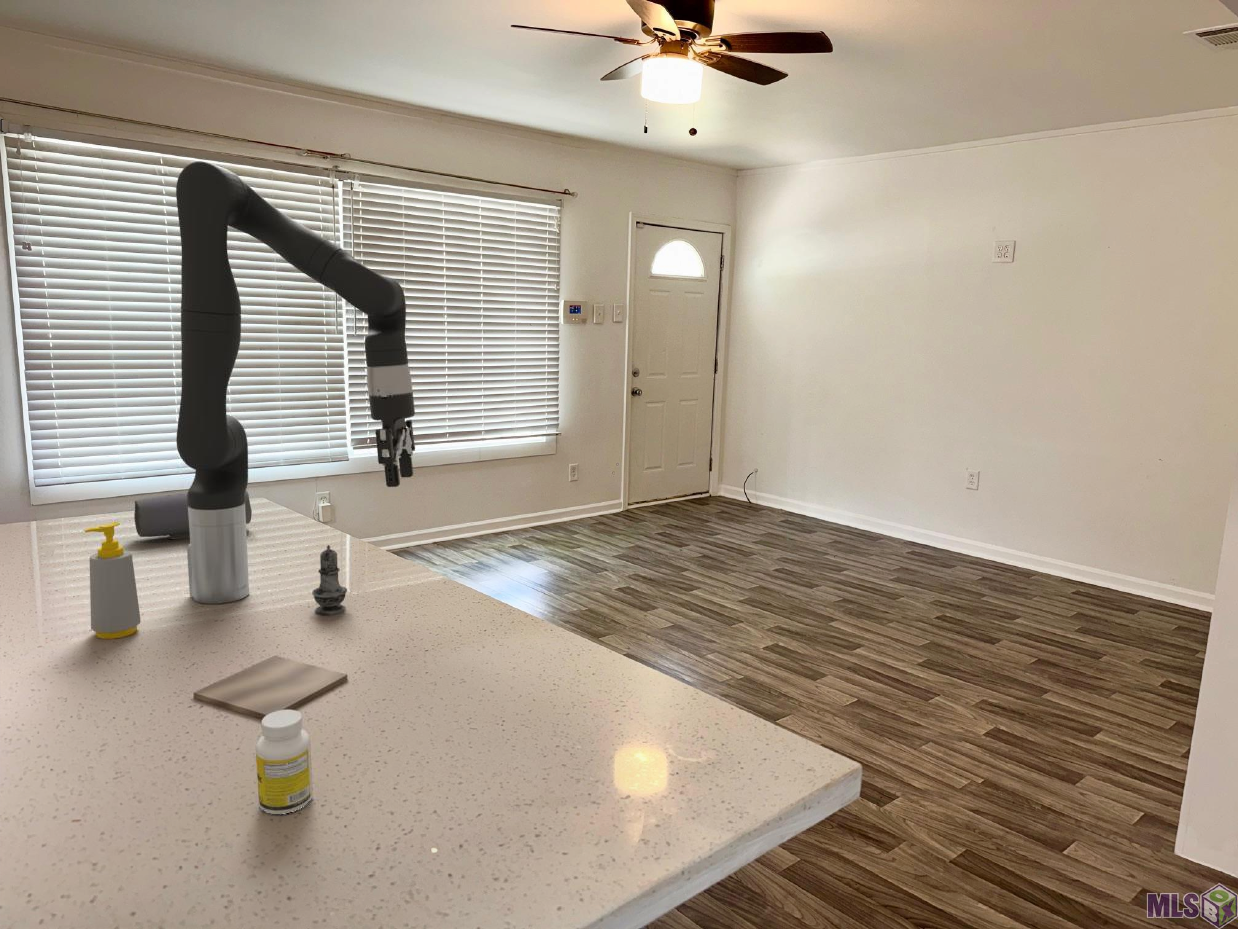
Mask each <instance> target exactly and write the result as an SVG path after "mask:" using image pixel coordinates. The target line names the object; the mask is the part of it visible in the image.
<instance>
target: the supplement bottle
mask: <svg viewBox="0 0 1238 929" xmlns="http://www.w3.org/2000/svg"><path fill="white" fill-rule="evenodd" d="M260 724H261V735H262V736H261V737H260V738H259V740H257V742H256V745H255V759H256V761H255V762H256V778H257V789H258V790H257V792H258V794H257V795H258V805H259V808H260V807H261V808H260V809H261V811H263V810H264V811H265V812H268V813H272V814H283V813H288V812H292V811H295V810H298V809H300V808H301V807H303V806H305V805H306V804H307V803H308V802H309V801H310V802H311V800H312V799H313V794H314V793H313V790H314V789H313V774H312V773H313V772H312V768H313V767H312V752H311V751H312V749H311V737H310V735H309V734H308V732H307V731H306V730H304V729H303V714H302V713H301V712H300V711H298V710H296V709H293V710H280V711H275V712H273V713H270V714H268V715H267V716H265V717H264V718H263V719H261V723H260ZM311 798H312V799H311ZM310 802H309V803H310ZM309 803H308V804H309ZM308 804H307V805H308ZM307 805H306V806H307ZM306 806H305V807H306ZM303 808H304V807H303ZM300 810H301V809H300ZM264 811H263V812H264ZM298 811H299V810H298ZM265 812H264V813H265ZM268 813H267V814H268ZM272 814H271V815H272Z"/></svg>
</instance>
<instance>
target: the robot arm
mask: <svg viewBox="0 0 1238 929" xmlns="http://www.w3.org/2000/svg"><path fill="white" fill-rule="evenodd" d="M175 186H176V187H175V196H176V208H177V216H178V223H179V224H178V226H179V232H180V234H179V235H180V246H181V263H180V264H181V270H180V271H181V275H180V276H181V279H180V280H181V300H180V303H181V304H180V336H181V337H180V338H181V339H180V340H181V342H180V343H181V351H180V352H181V360H180V361H181V365H180V366H181V394H180V404H179V405H180V406H179V412H178V421H177V427H176V447H177V451H178V454H179V456H180V458H181V460H182V461H183V462H184V464H186V465H187V467H189V468H190V469H193V470H194V471H195V473H194V478H193V481H192V483H191V485H190V487H189V488H188V490H187V493H188V494H187V500H188V516H189V531H190V537H189V544H188V545H187V546H186V554H187V555H186V556H187V557H186V558H187V570H188V573H187V574H188V585H189V587H188V588H189V596H190V597H192V598H193V600H194V601H195V602H197V603H201V604H210V605H211V604H225V603H231V602H236V601H239V600H242V599H243V598H246V597H247V596H249V594H250V584H249V583H250V582H249V559H248V558H249V557H248V539H247V538H248V536H247V524H246V515H245V491H247V487H248V482H249V444H248V438H247V433H246V430H245V428H244V426H243V424H242V423H241V422H240V421H239V420H238V419H237V418H235V417H233V416H231V415H229V414H227V392H228V386H229V383H230V379H231V375H232V373H233V370H234V367H235V364H236V360H237V358H238V355H239V350H240V345H241V338H242V305H241V304H242V303H241V298H240V295H239V291H238V290H239V289H238V286H237V284H236V280H235V277H234V274H233V271H232V267H231V264H230V260H229V254H228V230H229V227H230V228H233V229H234V230H237V231H239V232H242V233H244V234H247V235H249V236H250V237H253V238H254V239H257V240H258V241H260V242H261V243H263V244H264V245H266V246H267V247H269V248H270V249H272V250H273V251H274V252H275V253H277V254H278V255H279V256H280V257H281V258H283V259H284V260H285V261H286V262H287V263H289V265H291V266H293V268H295V269H297V270H299V272H301V273H303V274H304V275H306V276H308V277H309V278H311V279H313V280H314V281H316V282H317V283H319V284H321V285H322V286H324V287H326V288H327V289H330V290H331V291H333V292H335V293H336V294H337V295H338V296H339V297H341V298H342V299H343V300H345V302H347V303H349V304H350V305H351V306H352V307H354V308H356V309H357V310H359V311H360V312H362V313H363V314H365V315H367V328H368V329H367V330H368V331H367V332H368V333H367V335H366V336H365V338H364V351H365V361H366V383H367V391H368V393H367V394H368V400H369V401H368V402H369V409H370V418H371V419H372V420H374V421H381V428H379V429H375V434H374V435H375V442H376V451H377V453H376V454H377V462H378V465H382V467H384V474H385V485H386V487H388V488H396V487H399V486H400V485H401V481H400V479H401V478H403V479H404V478H411V477H413V476H414V467H413V459H412V458H413V457H412V456H413V453H414V452H415V451H416V446H415V437H414V431H413V430H414V429H413V421H412V419H410V418H412V417H414V416H415V414H416V412H415V411H416V410H415V402H414V390H413V382H412V374H411V371H410V368H409V367H410V366H409V358H408V348H407V343H406V342H407V341H406V328H407V327H406V325H407V323H406V322H407V319H406V318H407V306H406V305H407V304H406V297H405V293H404V290H403V287H402V286H401V284H400V283H399V282H398V281H397V280H395V279H394V278H392V277H389V276H384V275H381V274H379V273H377V272H376V271H374V270H373V269H371V268H369V267H367V266H365V264H362V263H360V262H359V261H358V260H356V258H355V257H354V256H353V255H352V254H351V253H349V252H348V251H346V250H345V249H343V248H342V247H340V246H338V245H336V244H335V243H333V242H332V241H330V240H329V239H327V238H325V237H323V236H322V235H321V234H318V233H317V232H316V231H313V230H312V229H310V228H308V227H306V226H305V225H303V224H301V223H299V222H298V221H296V220H294V219H292V217H290V216H288V215H286V214H285V213H283V212H282V211H280V210H279V209H277V208H276V207H275V206H273V205H272V204H271V203H269V202H268V201H267V200H266V199H265V198H263V197H262V196H261V195H260V194H259V193H258V192H257V191H256V190H254V189H253V188H252V187H251V186H250V185H249V184H248V183H247V182H245V181H244V180H243V179H241V177H240V176H239V175H237V174H236V173H234V172H233V171H231V170H229V169H228V168H225V167H222V166H219V165H216V164H214V163H212V162H208V161H201V160H199V161H193V162H191V163H189V164H187V165H186V166H185V167H184V168H183V169H182V170H181V172H180V174H179V176H178V178H177V180H176V185H175ZM400 477H401V478H400Z"/></svg>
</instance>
